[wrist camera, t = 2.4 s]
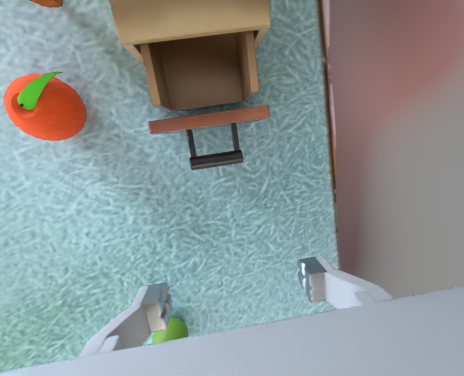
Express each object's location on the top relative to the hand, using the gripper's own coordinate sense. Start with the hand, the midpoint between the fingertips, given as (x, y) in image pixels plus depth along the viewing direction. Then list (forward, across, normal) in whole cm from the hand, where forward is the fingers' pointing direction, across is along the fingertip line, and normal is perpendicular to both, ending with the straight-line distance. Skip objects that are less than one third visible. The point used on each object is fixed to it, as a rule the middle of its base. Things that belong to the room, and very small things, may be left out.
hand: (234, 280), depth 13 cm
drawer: (+19, 0, -14) cm, 23 cm away
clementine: (+20, +17, -14) cm, 30 cm away
